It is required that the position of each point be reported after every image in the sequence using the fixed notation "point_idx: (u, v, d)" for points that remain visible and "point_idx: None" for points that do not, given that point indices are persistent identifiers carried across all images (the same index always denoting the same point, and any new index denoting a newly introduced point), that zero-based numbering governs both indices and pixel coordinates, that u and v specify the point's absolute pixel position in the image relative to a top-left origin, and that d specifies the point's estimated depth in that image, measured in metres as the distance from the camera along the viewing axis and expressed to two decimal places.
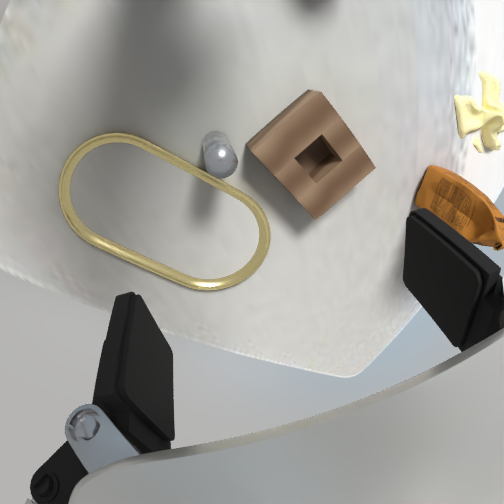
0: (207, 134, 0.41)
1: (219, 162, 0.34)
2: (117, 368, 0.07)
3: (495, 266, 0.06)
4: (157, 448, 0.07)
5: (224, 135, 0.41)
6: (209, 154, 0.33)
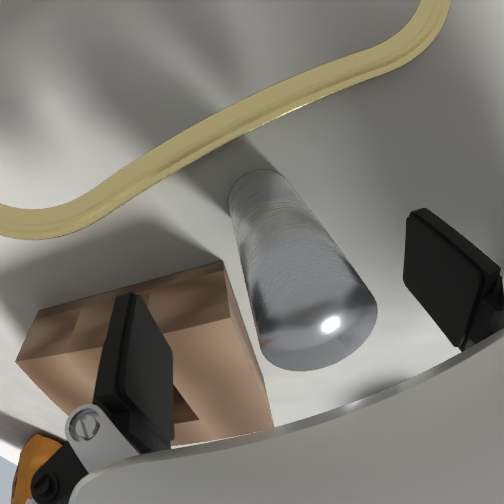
0: None
1: (326, 325, 0.09)
2: (117, 368, 0.07)
3: (495, 266, 0.06)
4: (157, 448, 0.07)
5: None
6: (372, 308, 0.09)
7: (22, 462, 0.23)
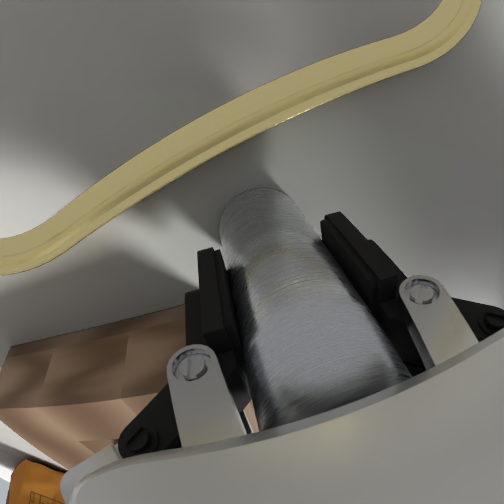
0: None
1: None
2: (220, 307, 0.08)
3: (392, 271, 0.07)
4: (248, 392, 0.08)
5: None
6: None
7: (12, 488, 0.19)
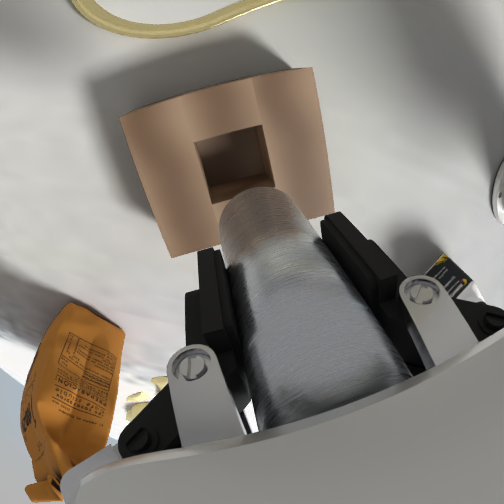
0: None
1: None
2: (220, 307, 0.08)
3: (391, 271, 0.07)
4: (248, 392, 0.08)
5: None
6: None
7: (48, 333, 0.28)
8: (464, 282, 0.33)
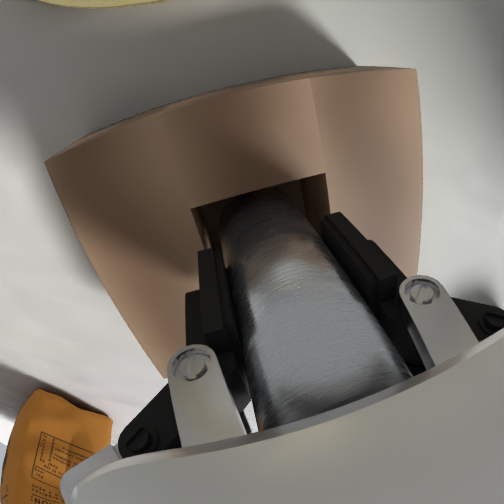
0: None
1: None
2: (220, 307, 0.08)
3: (391, 271, 0.07)
4: (248, 392, 0.08)
5: None
6: None
7: (16, 429, 0.17)
8: None
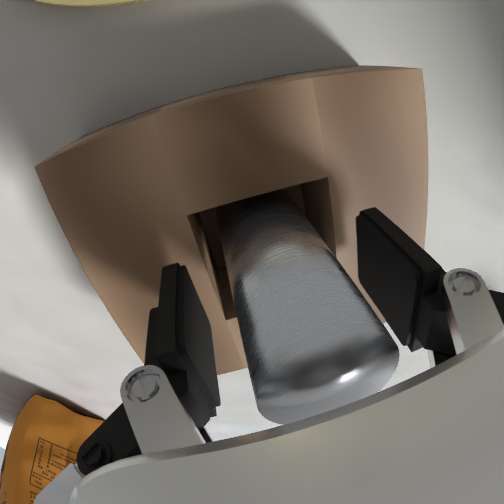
0: None
1: (339, 381, 0.07)
2: (175, 328, 0.07)
3: (435, 265, 0.07)
4: (208, 411, 0.08)
5: None
6: (394, 357, 0.07)
7: (13, 435, 0.17)
8: None
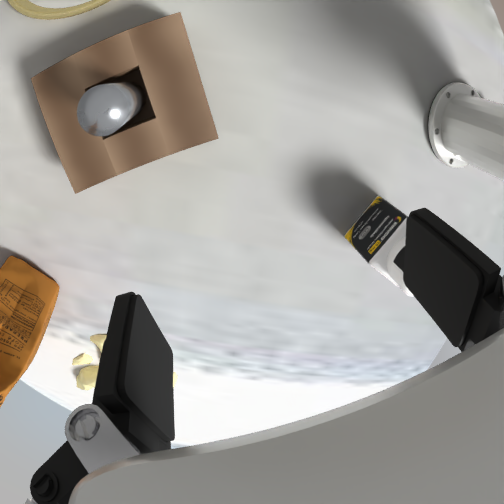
0: None
1: (103, 107, 0.18)
2: (117, 368, 0.07)
3: (495, 266, 0.06)
4: (157, 448, 0.07)
5: None
6: (122, 97, 0.18)
7: None
8: (398, 220, 0.33)
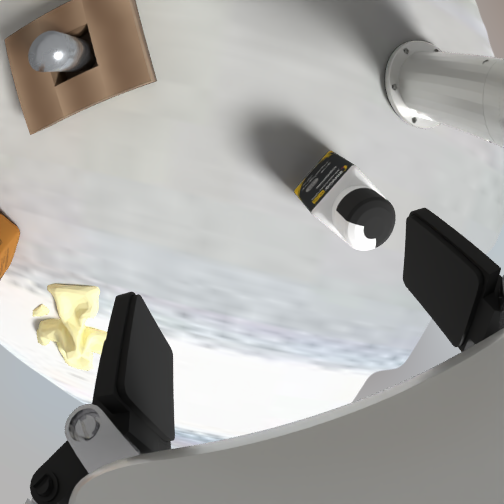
0: None
1: (47, 48, 0.17)
2: (117, 368, 0.07)
3: (495, 266, 0.06)
4: (157, 448, 0.07)
5: (85, 69, 0.26)
6: (62, 39, 0.17)
7: None
8: (344, 168, 0.32)
